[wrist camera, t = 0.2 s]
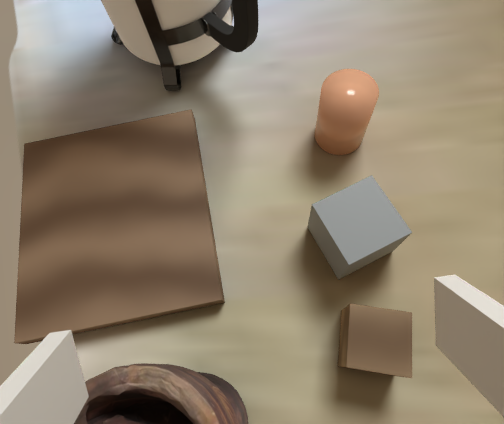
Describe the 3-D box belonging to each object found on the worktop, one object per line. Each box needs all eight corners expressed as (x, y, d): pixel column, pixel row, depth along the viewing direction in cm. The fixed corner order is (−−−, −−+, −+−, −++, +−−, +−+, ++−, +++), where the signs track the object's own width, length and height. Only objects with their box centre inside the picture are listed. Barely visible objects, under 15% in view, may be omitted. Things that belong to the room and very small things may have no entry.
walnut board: (224, 302, 29) (221, 299, 28) (27, 343, 29) (14, 343, 28) (194, 119, 36) (191, 109, 35) (34, 152, 36) (24, 143, 35)
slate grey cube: (391, 252, 30) (412, 232, 25) (338, 279, 29) (348, 264, 25) (358, 202, 32) (371, 175, 27) (307, 227, 31) (312, 204, 27)
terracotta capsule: (369, 149, 33) (386, 107, 28) (321, 159, 33) (330, 119, 28) (354, 110, 35) (368, 64, 30) (309, 120, 35) (315, 75, 30)
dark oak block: (393, 375, 27) (412, 378, 23) (337, 366, 27) (346, 367, 23) (394, 318, 28) (412, 312, 24) (341, 310, 28) (350, 303, 25)
